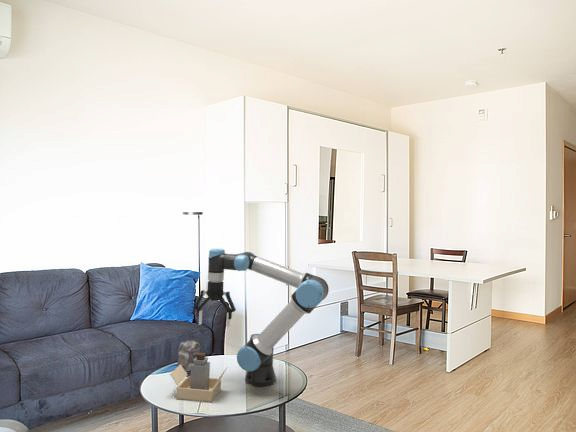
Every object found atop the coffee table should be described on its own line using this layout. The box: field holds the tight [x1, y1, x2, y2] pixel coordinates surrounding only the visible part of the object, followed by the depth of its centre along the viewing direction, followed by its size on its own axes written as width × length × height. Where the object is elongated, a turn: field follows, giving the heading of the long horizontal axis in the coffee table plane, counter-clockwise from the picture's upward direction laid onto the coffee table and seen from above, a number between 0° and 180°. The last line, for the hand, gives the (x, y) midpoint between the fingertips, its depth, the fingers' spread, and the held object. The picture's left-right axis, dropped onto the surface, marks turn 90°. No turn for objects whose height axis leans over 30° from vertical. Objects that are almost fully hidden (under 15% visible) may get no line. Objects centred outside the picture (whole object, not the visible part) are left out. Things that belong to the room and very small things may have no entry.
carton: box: [175, 375, 222, 403], centre depth 216 cm, size 16×15×5 cm
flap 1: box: [169, 365, 188, 386], centre depth 217 cm, size 6×13×1 cm
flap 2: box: [213, 367, 228, 388], centre depth 215 cm, size 6×13×1 cm
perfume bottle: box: [189, 352, 211, 390], centre depth 216 cm, size 7×7×18 cm
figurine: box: [176, 339, 201, 372], centre depth 249 cm, size 10×11×15 cm
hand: (214, 325), depth 228 cm, fingers open, 13 cm apart
